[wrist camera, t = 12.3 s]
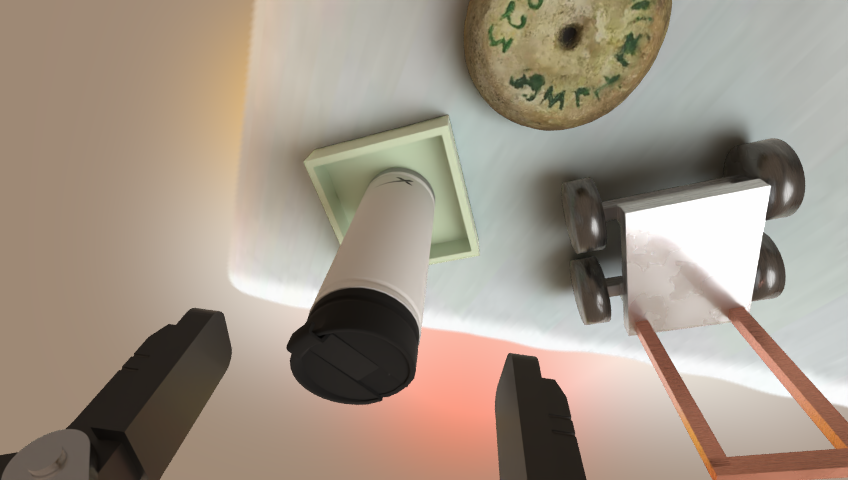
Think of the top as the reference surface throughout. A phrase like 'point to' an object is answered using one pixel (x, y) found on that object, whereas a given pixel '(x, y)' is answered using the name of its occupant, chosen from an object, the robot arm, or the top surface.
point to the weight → (561, 56)
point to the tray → (402, 147)
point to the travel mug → (371, 297)
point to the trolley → (705, 287)
